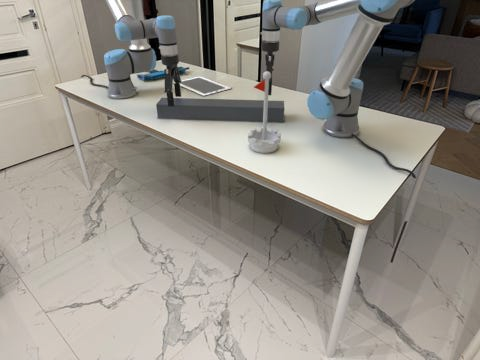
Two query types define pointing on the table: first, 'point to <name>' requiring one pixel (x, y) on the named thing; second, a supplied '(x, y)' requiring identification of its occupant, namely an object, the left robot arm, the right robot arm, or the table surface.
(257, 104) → the wide beam
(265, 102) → the flag stand
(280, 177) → the table surface
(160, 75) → the submachine gun
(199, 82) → the tablet
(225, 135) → the table surface
